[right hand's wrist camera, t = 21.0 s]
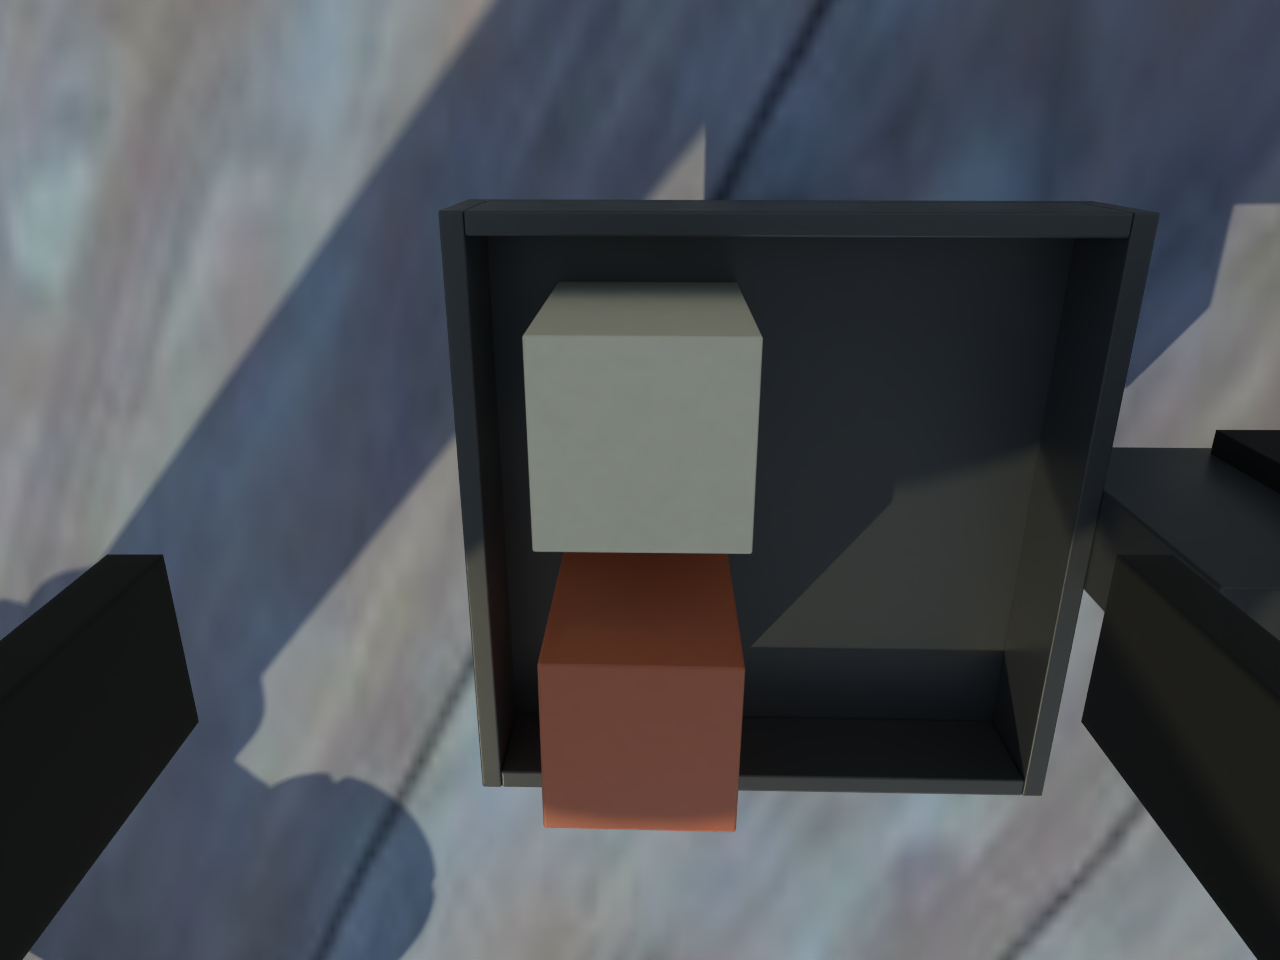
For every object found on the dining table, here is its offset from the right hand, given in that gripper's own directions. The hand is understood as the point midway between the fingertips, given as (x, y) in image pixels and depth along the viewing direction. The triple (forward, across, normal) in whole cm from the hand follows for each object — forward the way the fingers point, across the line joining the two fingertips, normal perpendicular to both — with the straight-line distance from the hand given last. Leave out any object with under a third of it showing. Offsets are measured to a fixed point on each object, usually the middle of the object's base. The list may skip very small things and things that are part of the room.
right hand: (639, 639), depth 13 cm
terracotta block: (+14, 0, -8) cm, 16 cm away
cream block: (+14, 0, 0) cm, 15 cm away
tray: (+15, +9, -4) cm, 18 cm away
